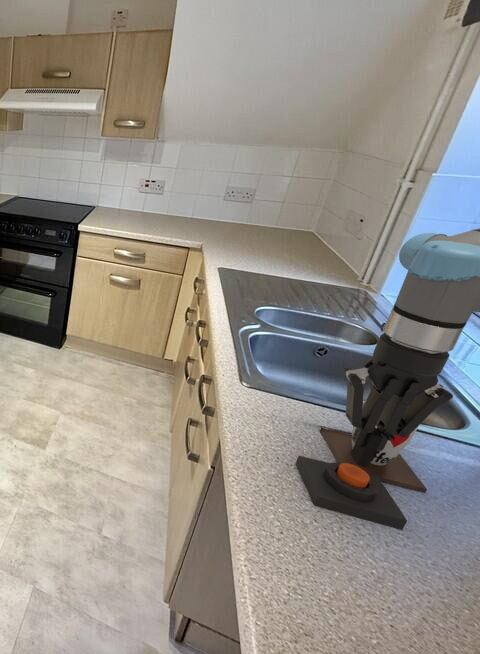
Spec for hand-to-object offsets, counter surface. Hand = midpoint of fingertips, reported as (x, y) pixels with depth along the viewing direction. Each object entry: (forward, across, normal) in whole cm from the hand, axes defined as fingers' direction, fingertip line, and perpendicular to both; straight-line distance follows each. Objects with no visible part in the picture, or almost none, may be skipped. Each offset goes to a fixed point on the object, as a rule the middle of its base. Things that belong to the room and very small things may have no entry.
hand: (359, 460), depth 71 cm
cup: (+7, -8, -12) cm, 16 cm away
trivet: (+8, -8, -12) cm, 16 cm away
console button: (+4, 0, 0) cm, 4 cm away
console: (+8, 0, 0) cm, 8 cm away
